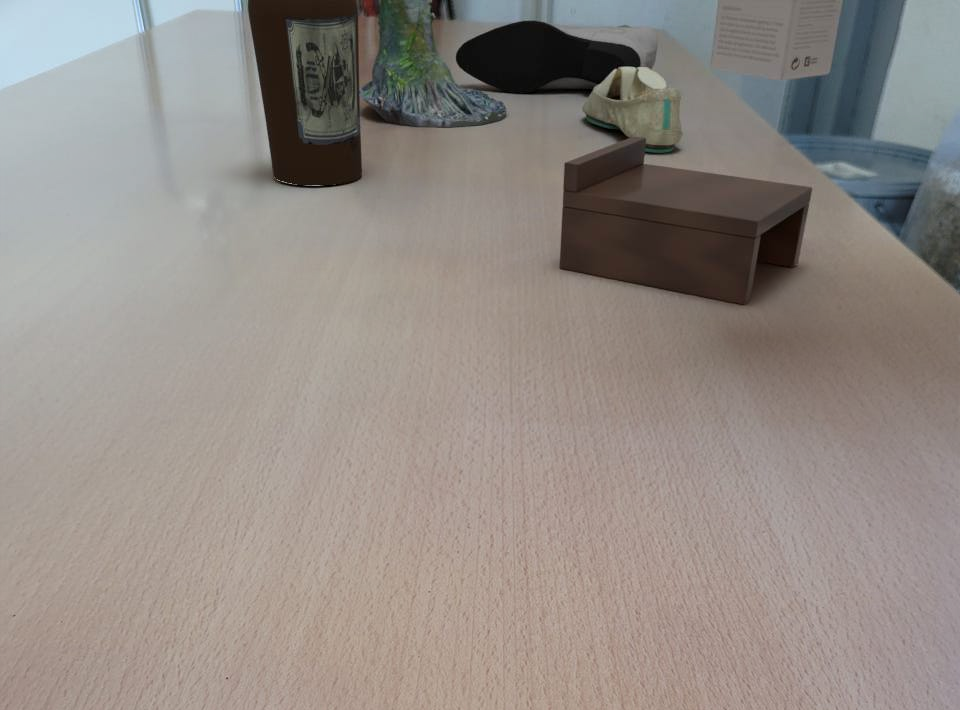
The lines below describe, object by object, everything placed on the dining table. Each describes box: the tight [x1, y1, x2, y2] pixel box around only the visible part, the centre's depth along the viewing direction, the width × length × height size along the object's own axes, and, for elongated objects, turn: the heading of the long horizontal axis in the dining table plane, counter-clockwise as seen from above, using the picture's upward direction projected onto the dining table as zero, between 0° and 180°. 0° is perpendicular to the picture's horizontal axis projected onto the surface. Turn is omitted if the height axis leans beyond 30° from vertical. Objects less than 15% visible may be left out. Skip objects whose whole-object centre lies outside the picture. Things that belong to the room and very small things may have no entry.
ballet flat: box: [581, 67, 684, 154], centre depth 123 cm, size 8×25×8 cm, turn 15°
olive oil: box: [247, 0, 363, 186], centre depth 99 cm, size 11×11×25 cm
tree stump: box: [359, 0, 507, 128], centre depth 132 cm, size 18×20×18 cm
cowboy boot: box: [455, 19, 659, 95], centre depth 154 cm, size 10×28×25 cm
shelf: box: [559, 136, 813, 305], centre depth 80 cm, size 16×12×8 cm
